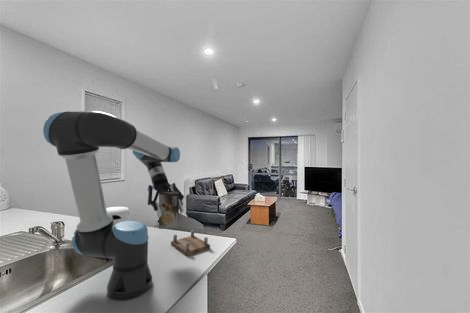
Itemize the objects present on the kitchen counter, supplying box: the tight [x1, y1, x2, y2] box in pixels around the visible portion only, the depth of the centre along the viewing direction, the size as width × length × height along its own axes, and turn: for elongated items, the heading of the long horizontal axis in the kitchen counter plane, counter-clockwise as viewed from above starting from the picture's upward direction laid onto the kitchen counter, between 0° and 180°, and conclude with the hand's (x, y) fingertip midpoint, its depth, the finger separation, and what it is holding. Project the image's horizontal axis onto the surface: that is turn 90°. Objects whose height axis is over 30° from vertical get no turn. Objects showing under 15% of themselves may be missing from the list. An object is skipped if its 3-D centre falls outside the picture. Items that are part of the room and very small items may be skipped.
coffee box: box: [158, 192, 180, 230], centre depth 105 cm, size 9×6×16 cm
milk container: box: [106, 206, 130, 225], centre depth 122 cm, size 17×17×18 cm
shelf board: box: [170, 230, 211, 257], centre depth 118 cm, size 14×17×6 cm
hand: (171, 213), depth 103 cm, fingers closed on coffee box, 10 cm apart
